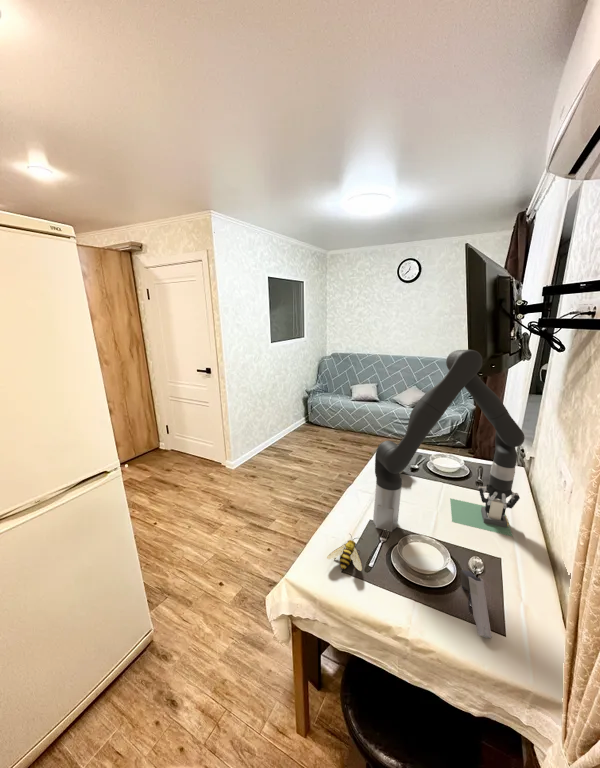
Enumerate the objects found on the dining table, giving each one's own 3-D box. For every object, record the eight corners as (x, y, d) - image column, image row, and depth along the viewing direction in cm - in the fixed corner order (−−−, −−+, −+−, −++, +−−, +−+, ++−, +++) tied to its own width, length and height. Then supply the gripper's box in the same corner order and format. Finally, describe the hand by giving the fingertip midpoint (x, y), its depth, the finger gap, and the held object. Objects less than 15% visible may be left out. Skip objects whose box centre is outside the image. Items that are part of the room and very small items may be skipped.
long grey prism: (465, 631, 89) (480, 636, 79) (458, 569, 97) (471, 567, 87) (478, 633, 88) (495, 639, 78) (470, 571, 96) (485, 569, 86)
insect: (371, 549, 109) (372, 537, 108) (359, 582, 96) (360, 569, 95) (340, 538, 114) (341, 527, 112) (325, 568, 101) (326, 555, 100)
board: (512, 539, 114) (513, 531, 113) (451, 524, 121) (452, 517, 120) (503, 512, 128) (504, 505, 127) (449, 500, 135) (450, 494, 135)
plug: (500, 521, 120) (503, 503, 118) (488, 519, 121) (491, 501, 119) (497, 514, 124) (501, 496, 122) (486, 511, 126) (489, 494, 123)
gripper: (481, 475, 116) (474, 514, 121) (527, 483, 111) (518, 524, 116) (479, 465, 123) (472, 503, 128) (521, 473, 118) (513, 512, 122)
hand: (494, 513), depth 122 cm, fingers closed on plug, 3 cm apart
